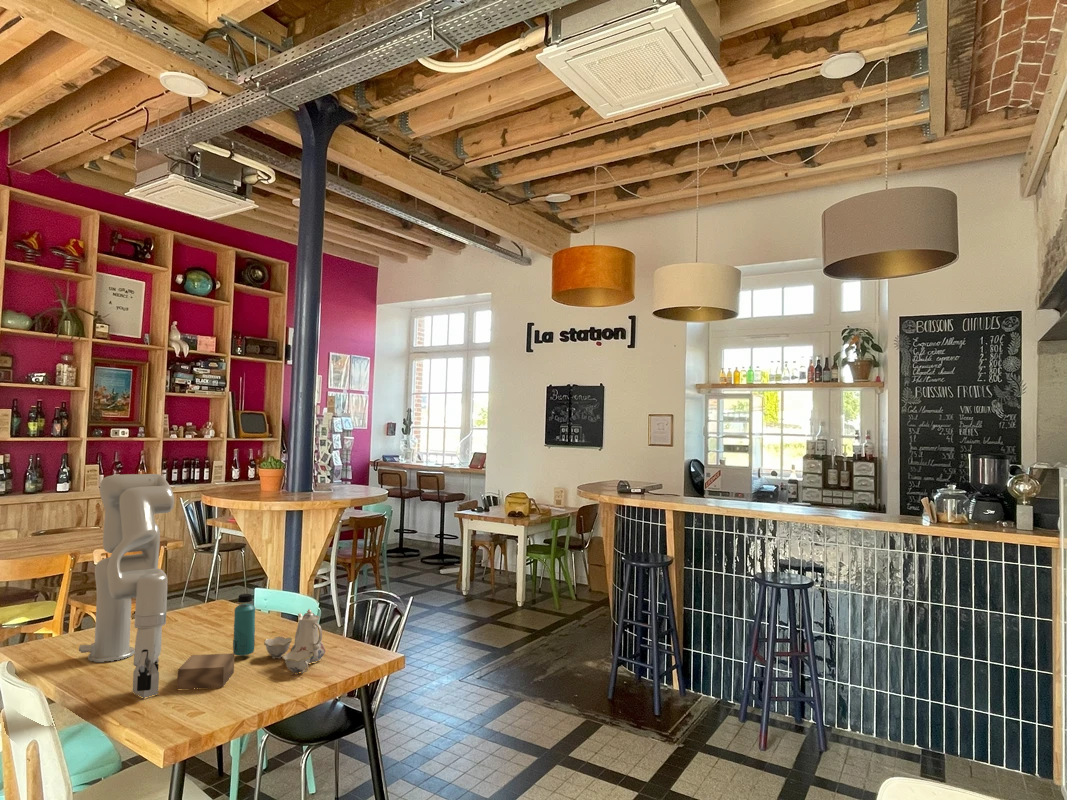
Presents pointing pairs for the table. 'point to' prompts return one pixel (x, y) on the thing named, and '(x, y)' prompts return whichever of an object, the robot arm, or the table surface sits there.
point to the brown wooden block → (206, 671)
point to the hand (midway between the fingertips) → (147, 684)
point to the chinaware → (300, 644)
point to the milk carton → (154, 682)
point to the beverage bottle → (244, 626)
